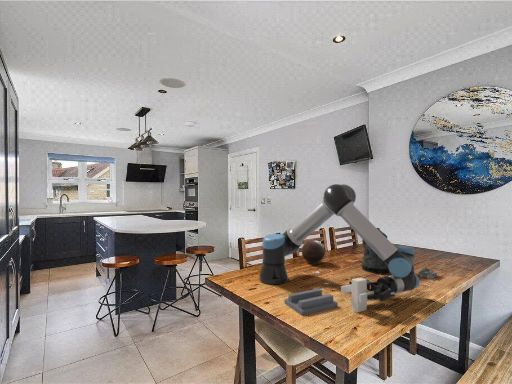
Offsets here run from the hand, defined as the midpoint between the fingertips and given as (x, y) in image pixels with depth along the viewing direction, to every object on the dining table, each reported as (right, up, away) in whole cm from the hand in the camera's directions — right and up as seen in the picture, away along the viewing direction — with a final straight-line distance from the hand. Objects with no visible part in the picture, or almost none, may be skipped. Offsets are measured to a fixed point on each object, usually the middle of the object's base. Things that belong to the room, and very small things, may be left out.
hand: (350, 294), depth 103 cm
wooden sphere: (+1, -7, +71) cm, 72 cm away
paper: (-2, -8, +45) cm, 46 cm away
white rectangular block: (+4, -7, +2) cm, 8 cm away
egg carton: (+59, -8, +45) cm, 75 cm away
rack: (-14, -7, +6) cm, 17 cm away
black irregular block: (+34, -7, +57) cm, 67 cm away
